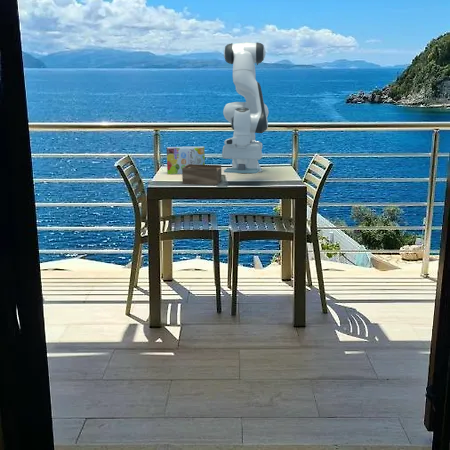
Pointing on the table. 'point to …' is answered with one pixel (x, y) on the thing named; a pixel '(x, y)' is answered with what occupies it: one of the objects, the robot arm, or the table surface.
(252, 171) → the lid
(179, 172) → the snack box
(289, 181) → the table surface
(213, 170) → the walnut box
